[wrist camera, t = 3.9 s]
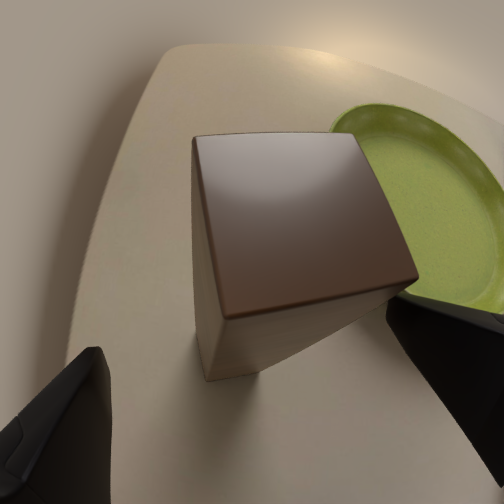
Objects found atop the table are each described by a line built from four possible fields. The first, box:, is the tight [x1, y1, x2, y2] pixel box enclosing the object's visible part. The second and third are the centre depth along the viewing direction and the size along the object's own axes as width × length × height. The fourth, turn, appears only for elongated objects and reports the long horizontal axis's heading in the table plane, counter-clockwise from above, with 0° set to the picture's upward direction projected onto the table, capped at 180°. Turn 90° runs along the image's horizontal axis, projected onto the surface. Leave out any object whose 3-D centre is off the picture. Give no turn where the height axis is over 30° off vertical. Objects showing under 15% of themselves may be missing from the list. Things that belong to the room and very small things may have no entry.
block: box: [191, 132, 419, 382], centre depth 11 cm, size 3×3×14 cm
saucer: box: [329, 103, 504, 315], centre depth 23 cm, size 21×21×3 cm
